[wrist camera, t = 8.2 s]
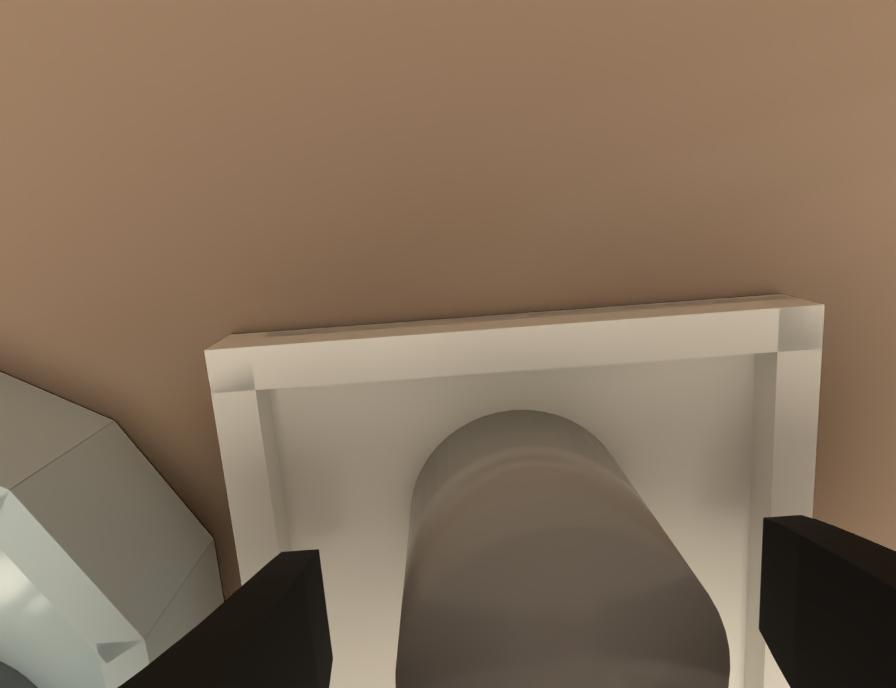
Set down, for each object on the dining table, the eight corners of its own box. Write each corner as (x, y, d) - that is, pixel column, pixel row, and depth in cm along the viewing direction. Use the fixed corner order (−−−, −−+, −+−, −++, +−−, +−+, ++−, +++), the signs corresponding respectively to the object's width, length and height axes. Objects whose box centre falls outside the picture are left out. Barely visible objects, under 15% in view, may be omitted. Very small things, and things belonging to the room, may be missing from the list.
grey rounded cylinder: (627, 600, 13) (726, 804, 9) (420, 616, 13) (409, 827, 9) (625, 401, 12) (734, 514, 8) (401, 418, 12) (379, 540, 8)
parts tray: (756, 889, 16) (787, 954, 14) (318, 920, 16) (306, 989, 14) (781, 294, 12) (824, 304, 11) (229, 334, 12) (204, 350, 11)
